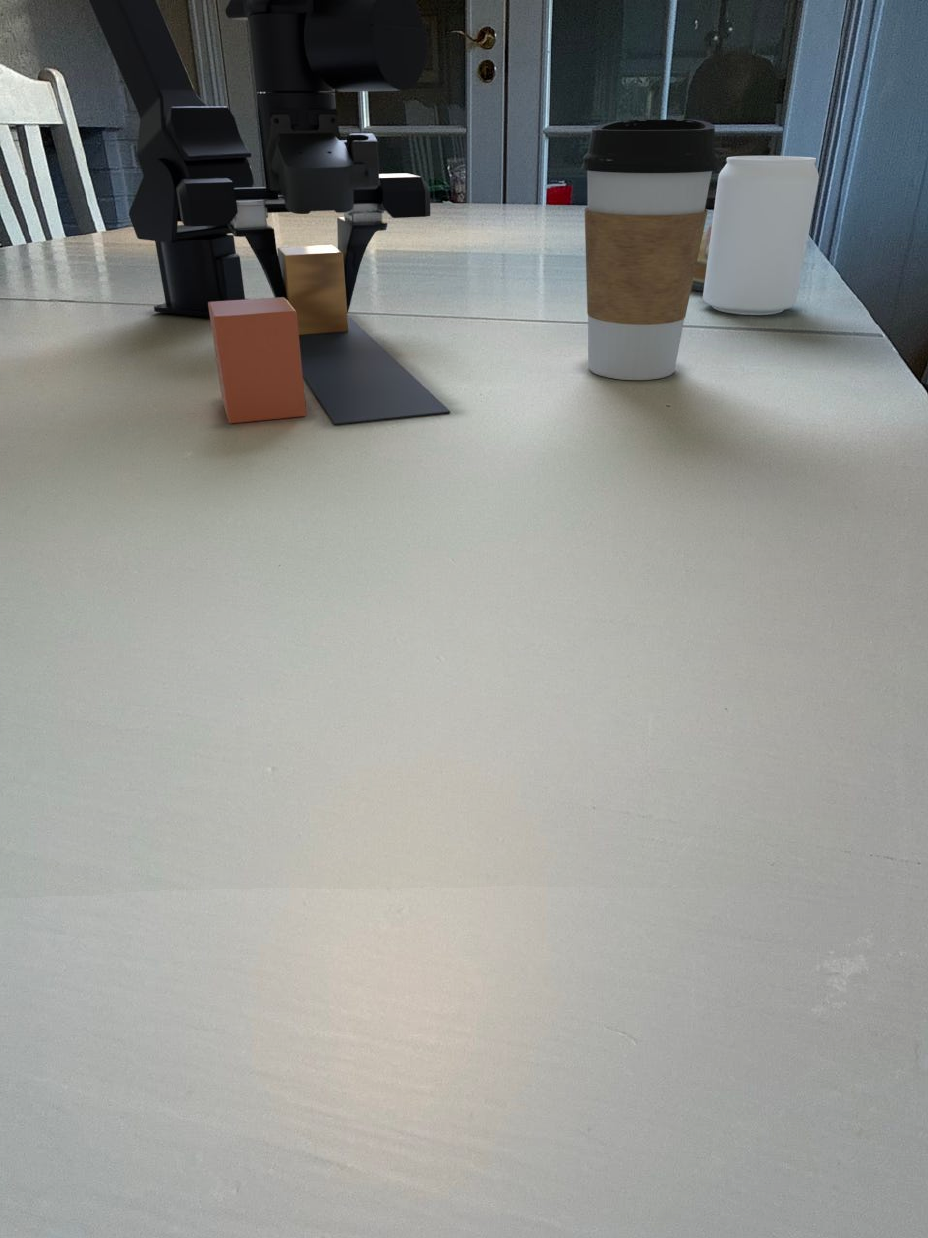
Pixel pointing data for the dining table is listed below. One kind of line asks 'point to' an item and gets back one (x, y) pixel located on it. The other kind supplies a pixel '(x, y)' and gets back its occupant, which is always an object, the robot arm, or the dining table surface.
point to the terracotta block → (258, 359)
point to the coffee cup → (643, 240)
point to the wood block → (315, 287)
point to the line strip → (361, 379)
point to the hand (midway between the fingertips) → (315, 315)
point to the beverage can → (760, 233)
